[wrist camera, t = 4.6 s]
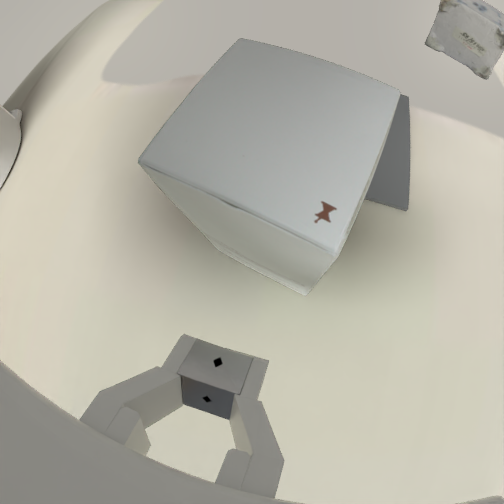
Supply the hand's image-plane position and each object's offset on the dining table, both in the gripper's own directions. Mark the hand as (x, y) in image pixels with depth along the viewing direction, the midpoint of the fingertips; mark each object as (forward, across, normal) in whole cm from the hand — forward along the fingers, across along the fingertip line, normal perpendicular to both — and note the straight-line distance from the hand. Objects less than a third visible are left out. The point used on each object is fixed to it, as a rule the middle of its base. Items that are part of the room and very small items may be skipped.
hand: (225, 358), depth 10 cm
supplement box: (+13, 0, +1) cm, 13 cm away
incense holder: (+36, -18, -21) cm, 45 cm away
